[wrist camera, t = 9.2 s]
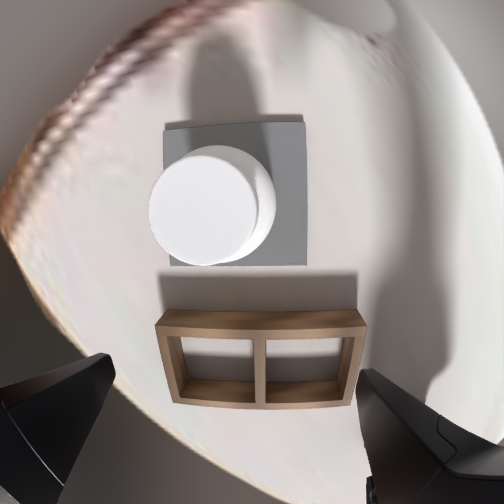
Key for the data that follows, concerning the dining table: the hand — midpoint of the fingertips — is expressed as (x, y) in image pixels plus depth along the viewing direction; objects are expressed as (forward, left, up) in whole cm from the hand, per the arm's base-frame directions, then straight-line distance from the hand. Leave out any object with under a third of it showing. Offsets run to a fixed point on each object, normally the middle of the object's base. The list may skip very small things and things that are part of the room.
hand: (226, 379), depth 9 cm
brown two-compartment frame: (-1, +8, -12) cm, 15 cm away
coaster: (+1, -5, -12) cm, 14 cm away
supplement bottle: (+1, -5, -12) cm, 13 cm away
